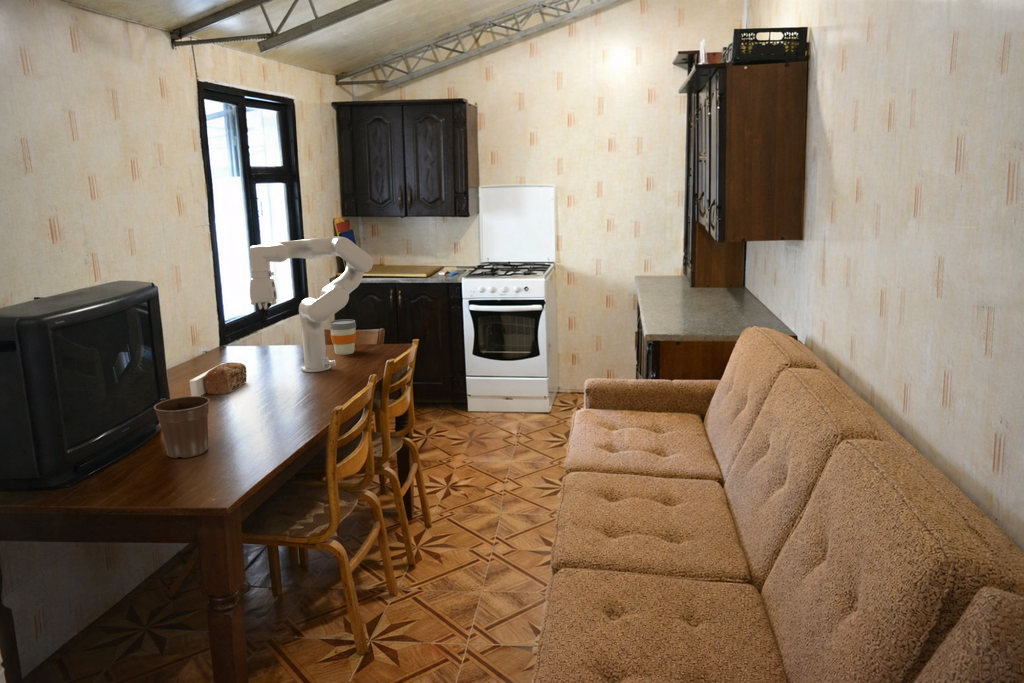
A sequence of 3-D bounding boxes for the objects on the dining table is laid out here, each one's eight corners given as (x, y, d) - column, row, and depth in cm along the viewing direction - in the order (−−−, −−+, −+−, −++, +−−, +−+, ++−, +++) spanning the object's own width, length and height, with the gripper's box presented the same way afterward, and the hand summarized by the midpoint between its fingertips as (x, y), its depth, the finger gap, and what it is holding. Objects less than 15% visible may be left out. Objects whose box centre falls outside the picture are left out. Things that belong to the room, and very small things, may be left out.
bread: (229, 395, 320) (226, 370, 318) (203, 395, 321) (200, 370, 319) (248, 382, 338) (246, 359, 336) (224, 382, 339) (221, 359, 337)
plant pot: (149, 454, 254) (143, 405, 250) (196, 440, 266) (191, 393, 263) (177, 465, 244) (171, 413, 240) (225, 449, 256) (220, 400, 253)
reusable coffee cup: (326, 354, 384) (324, 323, 381) (339, 349, 396) (337, 318, 393) (350, 356, 380) (348, 324, 377) (362, 350, 392) (360, 319, 389)
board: (229, 379, 343) (227, 363, 342) (197, 398, 316) (195, 380, 314) (223, 379, 343) (221, 363, 342) (191, 398, 316) (189, 380, 315)
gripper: (282, 273, 341) (285, 316, 345) (247, 274, 343) (251, 316, 346) (275, 276, 334) (279, 319, 338) (240, 276, 335) (244, 320, 339)
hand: (265, 318), depth 342 cm, fingers closed
